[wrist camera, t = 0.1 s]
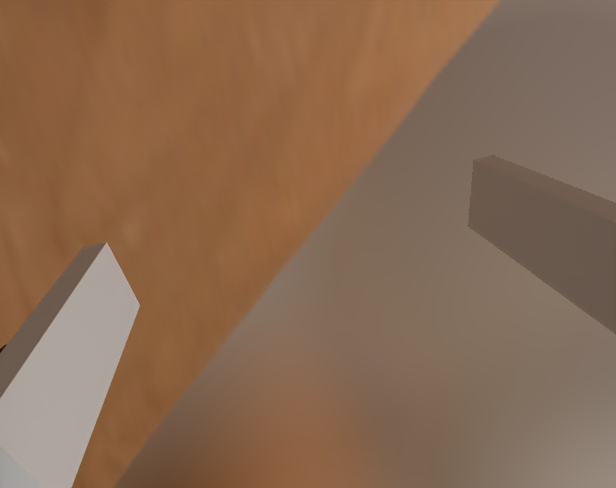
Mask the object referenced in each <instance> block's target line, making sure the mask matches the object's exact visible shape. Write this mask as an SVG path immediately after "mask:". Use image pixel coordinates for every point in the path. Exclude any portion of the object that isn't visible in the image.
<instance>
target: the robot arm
mask: <svg viewBox="0 0 616 488" xmlns="http://www.w3.org/2000/svg"><path fill="white" fill-rule="evenodd" d="M471 186H472V187H471V197H470V209H469V221H468V226H469V227H470V228H471V229H473V230H474V231H475V232H477V233H478V234H480V235H481V236H482V237H484V238H485V239H486V240H488V241H489V242H490V243H492V244H493V245H495V246H496V247H497V248H499V249H500V250H501V251H503V252H504V253H506V254H507V255H508V256H510V257H511V258H512V259H514V260H515V261H517V262H518V263H519V264H520V265H522V266H523V267H525V268H526V269H528V270H529V271H530V272H531V273H533V274H534V275H536V276H537V277H538V278H540V279H541V280H542V281H544V282H545V283H546V284H548V285H549V286H550V287H552V288H553V289H555V290H556V291H557V292H559V293H560V294H561V295H563V296H564V297H565V298H567V299H568V300H570V301H571V302H572V303H574V304H575V305H577V306H578V307H579V308H581V309H582V310H583V311H585V312H586V313H587V314H589V315H590V316H591V317H593V318H594V319H596V320H597V321H598V322H600V323H601V324H602V325H604V326H605V327H606V328H608V329H609V330H611V331H612V332H613V333H615V334H616V203H615V202H612V201H609V200H607V199H604V198H602V197H599V196H596V195H594V194H591V193H589V192H586V191H583V190H581V189H579V188H576V187H573V186H571V185H568V184H565V183H563V182H561V181H558V180H555V179H553V178H550V177H548V176H545V175H542V174H540V173H537V172H535V171H532V170H530V169H527V168H524V167H522V166H519V165H516V164H514V163H512V162H509V161H506V160H504V159H501V158H499V157H496V156H494V155H493V156H488V157H483V158H479V159H474V161H473V173H472V185H471ZM139 307H140V304H139V303H138V301H137V299H136V297H135V295H134V293H133V291H132V289H131V287H130V286H129V284H128V282H127V280H126V278H125V276H124V274H123V272H122V270H121V268H120V267H119V265H118V263H117V261H116V259H115V257H114V255H113V253H112V251H111V250H110V248H109V246H108V244H107V242H105V243H101V244H96V245H92V246H88V247H83V248H82V250H81V251H80V252H79V253H78V255H77V256H76V257H75V258H74V260H73V261H72V262H71V264H70V265H69V266H68V267H67V269H66V270H65V271H64V272H63V274H62V275H61V276H60V278H59V279H58V280H57V281H56V283H55V284H54V285H53V287H52V288H51V289H50V290H49V292H48V293H47V294H46V295H45V297H44V298H43V299H42V301H41V302H40V303H39V304H38V306H37V307H36V308H35V309H34V311H33V312H32V313H31V315H30V316H29V317H28V318H27V320H26V321H25V322H24V324H23V325H22V326H21V327H20V329H19V330H18V331H17V332H16V334H15V335H14V336H13V338H12V339H11V340H10V341H9V343H8V344H7V345H4V346H3V347H2V348H1V349H0V488H71V487H72V485H73V482H74V479H75V477H76V474H77V471H78V469H79V466H80V463H81V461H82V458H83V455H84V453H85V450H86V447H87V445H88V442H89V439H90V437H91V434H92V431H93V429H94V426H95V423H96V421H97V418H98V416H99V413H100V410H101V408H102V405H103V402H104V400H105V397H106V394H107V392H108V389H109V386H110V384H111V381H112V378H113V376H114V373H115V370H116V368H117V365H118V362H119V360H120V357H121V354H122V352H123V349H124V346H125V344H126V341H127V338H128V336H129V333H130V330H131V328H132V325H133V322H134V320H135V317H136V315H137V312H138V309H139Z"/></svg>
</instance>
